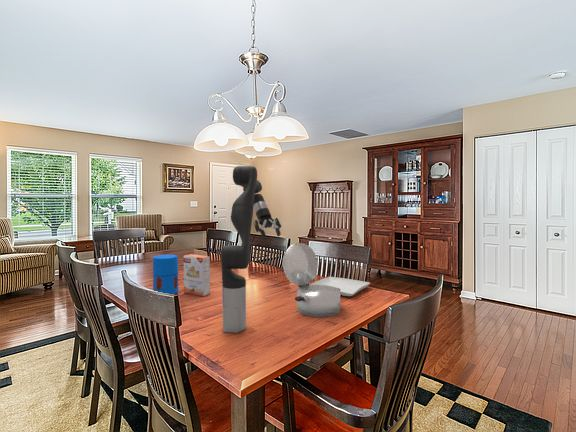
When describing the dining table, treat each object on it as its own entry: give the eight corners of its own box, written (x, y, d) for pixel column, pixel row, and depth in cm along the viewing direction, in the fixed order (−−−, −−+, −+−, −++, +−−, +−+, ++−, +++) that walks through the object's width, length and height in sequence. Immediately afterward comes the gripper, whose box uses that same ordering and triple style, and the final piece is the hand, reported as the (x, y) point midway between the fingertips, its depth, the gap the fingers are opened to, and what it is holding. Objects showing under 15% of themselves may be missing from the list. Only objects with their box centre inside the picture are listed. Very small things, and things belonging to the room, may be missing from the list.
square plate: (370, 288, 185) (370, 281, 185) (352, 300, 162) (352, 293, 162) (329, 281, 200) (329, 275, 200) (307, 291, 177) (307, 285, 177)
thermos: (170, 314, 141) (169, 259, 139) (148, 313, 143) (147, 258, 141) (183, 306, 151) (182, 255, 150) (162, 305, 153) (161, 254, 152)
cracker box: (183, 293, 173) (182, 255, 172) (191, 290, 178) (191, 253, 177) (202, 297, 166) (202, 257, 165) (210, 294, 172) (210, 255, 171)
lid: (287, 289, 150) (284, 289, 152) (320, 283, 162) (317, 283, 164) (281, 244, 153) (278, 245, 155) (314, 241, 165) (311, 241, 167)
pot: (283, 308, 149) (283, 290, 148) (324, 298, 164) (324, 281, 163) (311, 322, 132) (311, 301, 132) (353, 309, 148) (353, 290, 147)
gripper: (252, 208, 165) (262, 234, 158) (275, 206, 173) (286, 231, 165) (248, 216, 171) (257, 241, 163) (271, 214, 178) (281, 238, 171)
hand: (272, 236), depth 164 cm, fingers open, 8 cm apart
